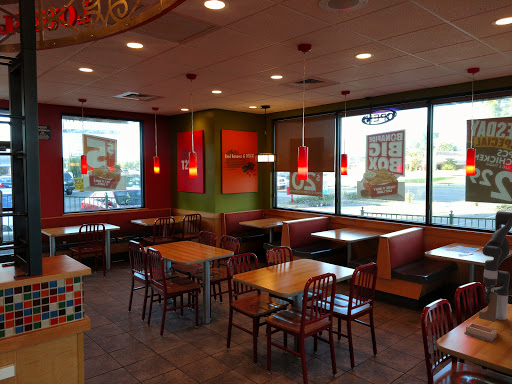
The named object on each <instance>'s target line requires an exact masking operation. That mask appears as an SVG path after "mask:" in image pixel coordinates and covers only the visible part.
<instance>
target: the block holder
mask: <svg viewBox="0 0 512 384" xmlns="http://www.w3.org/2000/svg"><path fill="white" fill-rule="evenodd" d="M464 335H468V336H470V337H474V338H477V339H480V340H483V341H488V342H491V343H493V341H494V340H495V339H496V338H497V336H498V334H497V329H495V328H492V327H489V326H486V325H482V324H479V323H474V322H469V323H467V325H466V326H465V331H464Z"/></svg>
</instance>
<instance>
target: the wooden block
mask: <svg viewBox="0 0 512 384" xmlns="http://www.w3.org/2000/svg"><path fill="white" fill-rule="evenodd" d="M497 297H498V293H494V292H492V293H491V295H490V303H489V304H487V308H486V309H484V310H483V309H480V311H479V312H478V319H480V320H485V321H487V322H488V321H489V322H492V323H493V322H494V323H495V322H496V320H497V319H496V310H497Z"/></svg>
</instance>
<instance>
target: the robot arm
mask: <svg viewBox="0 0 512 384" xmlns="http://www.w3.org/2000/svg"><path fill="white" fill-rule="evenodd" d="M494 228H495V229H494V230H495V231H494V232H493V233H492V235H491V237H490V240H488V242H486V244H485V245H483V247H482V251H481V252H482V254H483V256H486V257H491V258H493V259H486V260H485V261H484V268H483V269H484V270H483V280H482V282H483V284H484V285H485V286H484V289H483V290H484V291H483V292H484V293H483V294H484V296H483V297H484V298H485V299H484V300H485V301H484V302H485V304H487V305H488V304H489V303H490V295H491V293H492V292H494V293H498V297H497V310H496V320H500V321H506V320H507V314H508V303H509V302H508V301H509V287H510V280H511V274H510V272H509V271H503V270H498V269H499V267H500V266H501V264H502V263H503V262H504V261H505V260H506V259H507V258H508V257H509V254H510V251H511V250H510V249H511V244H510V241H509V240H508V238H507V235H508V234H509V232H510V230H511V229H512V212H511V211H503V210H497V211H496V213H495V215H494ZM497 285H502V286H498V287H497ZM495 286H496V287H495Z"/></svg>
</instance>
